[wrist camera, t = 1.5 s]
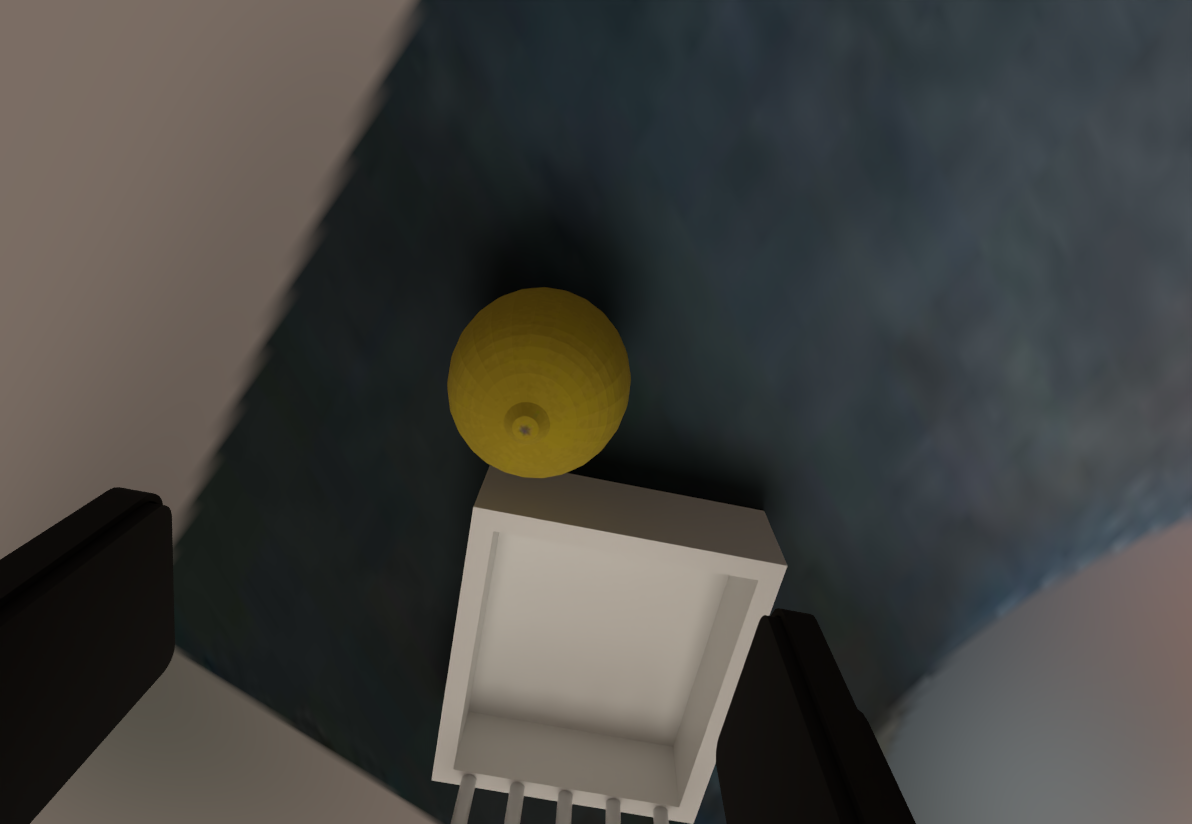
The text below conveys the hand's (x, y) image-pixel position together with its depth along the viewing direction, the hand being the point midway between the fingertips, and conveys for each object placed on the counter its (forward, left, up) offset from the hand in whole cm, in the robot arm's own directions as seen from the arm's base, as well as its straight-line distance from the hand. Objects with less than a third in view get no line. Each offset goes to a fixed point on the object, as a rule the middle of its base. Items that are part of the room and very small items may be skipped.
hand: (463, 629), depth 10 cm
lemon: (0, 0, -15) cm, 15 cm away
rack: (+11, +4, -15) cm, 19 cm away
